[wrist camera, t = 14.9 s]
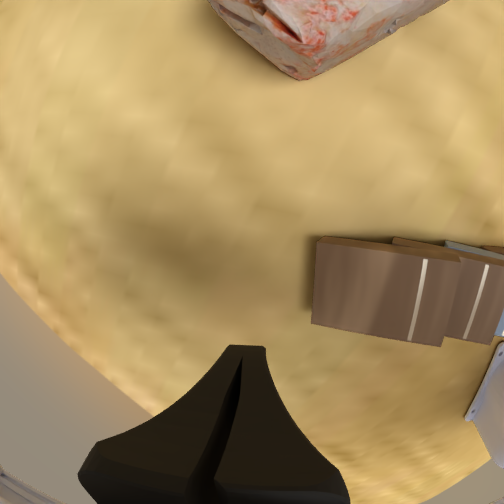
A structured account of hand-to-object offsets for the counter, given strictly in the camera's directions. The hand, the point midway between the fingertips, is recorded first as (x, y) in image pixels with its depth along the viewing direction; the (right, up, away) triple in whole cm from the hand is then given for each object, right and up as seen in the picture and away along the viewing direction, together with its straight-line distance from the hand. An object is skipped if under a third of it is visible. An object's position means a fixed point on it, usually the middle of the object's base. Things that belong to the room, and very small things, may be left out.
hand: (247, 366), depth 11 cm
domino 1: (+4, +3, +7) cm, 9 cm away
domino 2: (+8, +3, +6) cm, 11 cm away
